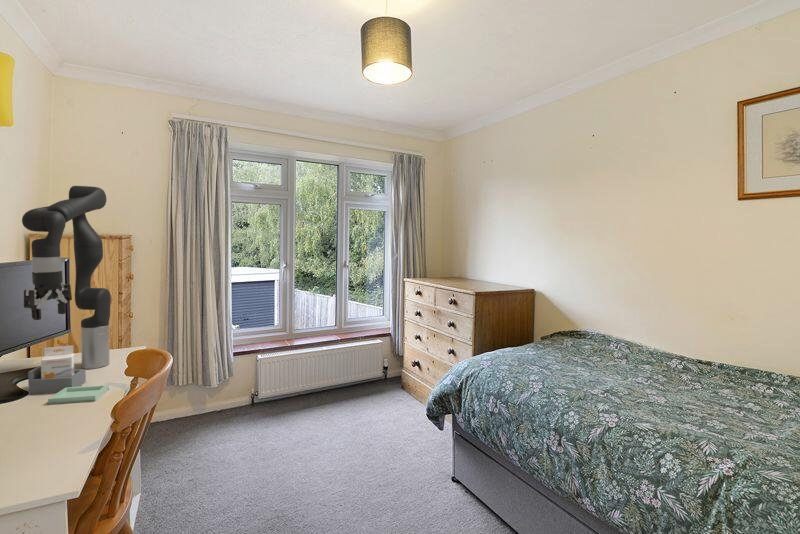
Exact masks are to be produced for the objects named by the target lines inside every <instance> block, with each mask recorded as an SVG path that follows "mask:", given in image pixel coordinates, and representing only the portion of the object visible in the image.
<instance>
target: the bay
mask: <svg viewBox="0 0 800 534" xmlns="http://www.w3.org/2000/svg"><path fill="white" fill-rule="evenodd" d="M86 375H87V374H86V369H85V368H82V369H74V375H72V376H71V377H64V378H46V379H41V365H38V366H37V367H34V368H33V369H32V370H29V371H27V377H28V384H27V385H28V395H40V394H41V395H43V394H57V393H58V392H60V391H61V390H63V389H64V388H66V387H81V386H82V385H83V384H85V383H86V381H87V379H86V378H87V377H86Z"/></svg>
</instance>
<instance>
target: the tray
mask: <svg viewBox="0 0 800 534" xmlns="http://www.w3.org/2000/svg"><path fill="white" fill-rule="evenodd" d="M109 390H110V385H109V384H101V385H85V386H82V385H81V386H79V387H66V388H64V389H63V390H61V391H60V392H58V393H54V395H52V396H50V397H49V398H48V399H47V400H48V401H47V403H48V405H57V404H59V405H60V404H73V403H74V404H75V403H87V402H88V403H89V402H96V401H97V400H99V398H101V397H102V396H104V394H105V393H107V392H108V391H109Z"/></svg>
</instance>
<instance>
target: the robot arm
mask: <svg viewBox="0 0 800 534" xmlns="http://www.w3.org/2000/svg"><path fill="white" fill-rule="evenodd" d="M106 204H107V195H106V192H105V190H104V189H102V188H101V187H98V186H89V185H88V186H87V185H72V186H71V187H70V189H69V191H68V199H64V200H63V199H62V200H59V201H56V202H55V203H52V204H50V205H48V206H42V207H36V208H33V209H30V210H28V211H25V213H24V214H23V215H22V218H21V222H22V225H23V227H24V228H25V229H26V230H28V231H31V232H38V233H39V232H40V233H47V235H46V236H45V237H44V238H37V239H34V240H32V242H31V278H32V279H31V280H32V284H33V286H34V288H33V289H23V308H24V309H30V310H31V318H32V319H33V320H34V321H40V320H42V310H41V306H42V305H43V304H45V303H46V302H47V301H50V300H55V301H56V302H57V313H58V314H59V315H65V314H66V313H67V303H68V302H70V301H72V299H73V297H72V296H73V295H72V289H71V288H72V286H71V284H68V283H66V284H65V283H63V282H64V281H63V263H62V262H63V261H62V259H61V258H62V257H61V241H62V238H63V235H64V232H65V228H66V223H68V222H69V221H72V230H73V231H72V234H73V253H74V261H75V263H74V264H75V265H74V267H75V283H74V284H75V286H74V304H75V306H76V308H77V309H78V310H82V311H83V310H85V311H86V310H87V311H94V313H93V315H91V316H90V317H86V318H83V319H81V321H80V344H81V345H80V346H81V347H80V350H81V368H82V369H85V370H86V369H87V370H90V369H91V370H92V369H97V368H103V367H106V366H108V365H110V318H111V306H112V305H111V302H112V297H111V292H110V290H109V289H107V288H106V287H91V283H92V281H91V280H92V276H93V274H94V272H95V270H96V269H97V267H98V266H99V265H100V263H101V262H102V260H103V258H104V248H103V241H102V238H101V237H100V235H99V234H98V233H97V231H96V230H95V229H94V228H93V227H92V225H91V224H90V223H89V221H88V218H87V215H86V214H87V213H89V212H93V211H96V210H101V209H103V208H104V207H105V206H106Z"/></svg>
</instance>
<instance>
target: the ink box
mask: <svg viewBox="0 0 800 534" xmlns="http://www.w3.org/2000/svg"><path fill="white" fill-rule="evenodd" d="M57 350H59V351H57ZM61 350H62V351H61ZM43 353H44V354H43V355H44V356H43V357H42V358H41V360H40V366H41V379H46V378H64V377H71V376H72V375H74V370H75V353H74V345H64V346H63V345H61V346H52V347H44V348H43Z"/></svg>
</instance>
